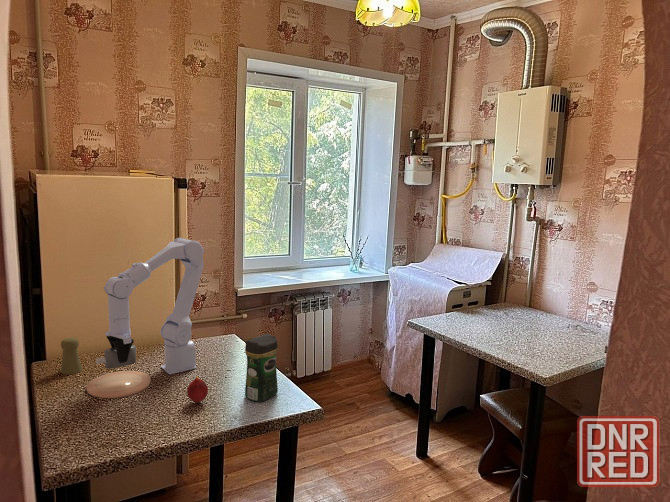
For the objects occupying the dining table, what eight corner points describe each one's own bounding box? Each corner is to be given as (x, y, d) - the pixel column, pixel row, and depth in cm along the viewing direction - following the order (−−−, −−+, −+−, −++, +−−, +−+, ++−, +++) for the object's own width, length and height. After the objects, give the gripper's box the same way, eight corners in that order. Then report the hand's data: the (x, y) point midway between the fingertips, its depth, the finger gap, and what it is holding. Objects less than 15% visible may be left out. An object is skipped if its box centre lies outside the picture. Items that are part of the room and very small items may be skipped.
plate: (139, 368, 161) (138, 366, 161) (159, 387, 147) (159, 384, 147) (79, 382, 149) (79, 379, 149) (96, 404, 136) (96, 401, 135)
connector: (133, 358, 151) (133, 343, 150) (138, 362, 148) (137, 347, 147) (94, 367, 144) (94, 351, 143) (98, 371, 141) (98, 355, 140)
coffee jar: (263, 386, 151) (264, 329, 148) (281, 394, 146) (282, 335, 143) (239, 397, 143) (240, 337, 140) (258, 405, 138) (259, 344, 135)
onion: (212, 400, 140) (211, 374, 139) (200, 409, 135) (200, 382, 134) (195, 396, 142) (194, 371, 141) (183, 405, 137) (182, 378, 136)
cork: (72, 375, 154) (70, 342, 152) (56, 373, 155) (54, 340, 153) (85, 368, 159) (84, 336, 158) (70, 366, 161) (68, 334, 159)
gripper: (97, 313, 147) (99, 355, 149) (112, 325, 136) (114, 370, 138) (121, 309, 152) (123, 350, 154) (138, 321, 141) (139, 364, 143)
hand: (120, 359), depth 146 cm, fingers closed on connector, 4 cm apart
